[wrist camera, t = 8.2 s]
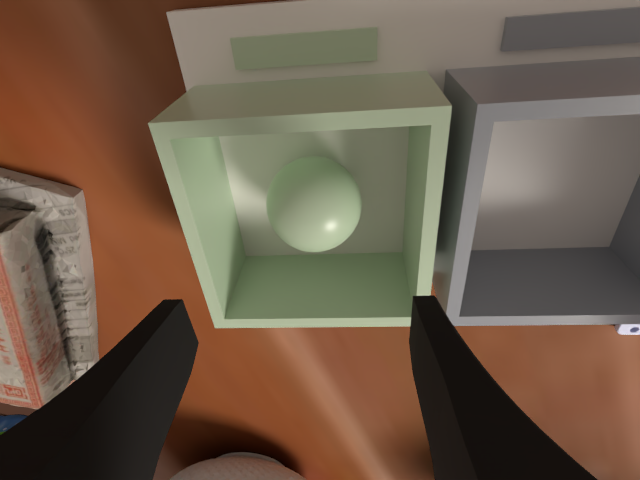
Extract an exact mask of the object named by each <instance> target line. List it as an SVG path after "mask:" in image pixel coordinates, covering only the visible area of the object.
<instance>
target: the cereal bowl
mask: <svg viewBox="0 0 640 480" xmlns="http://www.w3.org/2000/svg"><path fill="white" fill-rule="evenodd" d="M169 480H306V479H305V478H304V477H303V476H300V475H299V474H298V473H296V472H294V471H293V470H290V469H289V468H287V467H285V466H283V465H282V464H281V463H280V462H278V461H277V460H275V459H273V458H270V457H268V456H265V455H261V454H257V453H250V452H234V453H228V454H224V455H222V456H219V457H217V458H216V459H209V460H204V461H202V462H198V463H196V464H193V465H191V466H189V467H186V468H185V469H183V470H181V471H180V472H178V473H177V474H175V475H174V476H173V477H172V478H170V479H169Z"/></svg>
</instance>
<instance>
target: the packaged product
mask: <svg viewBox="0 0 640 480" xmlns="http://www.w3.org/2000/svg"><path fill="white" fill-rule="evenodd" d="M98 361H99V353H98V323H97V310H96V292H95V280H94V269H93V258H92V250H91V242H90V234H89V227H88V219H87V211H86V203H85V198H84V193H83V190H82V189H79V188H76V187H73V186H69V185H65V184H61V183H58V182H54V181H50V180H46V179H42V178H39V177H35V176H31V175H27V174H23V173H18V172H15V171H12V170H8V169H4V168H1V167H0V402H1V403H4V404H5V403H8V404H10V405H14V406H20V407H29V408H33V409H39V408H41V407H42V406H43V405H45V404H46V403H47V402H49V401H50V400H51V399H53V398H54V397H55V396H57V395H58V394H59V393H61V392H62V391H63V390H65V389H66V388H67V386H68V385H69V384H70V382H71V381H72V380H73V379H74V380H77V379H78V378H79V377H81V376H82V375H83V374H84V373H85V372H86V371H88V370H89V369H90V368H91V367H92V366H93V365H94V364H96V363H97V362H98Z"/></svg>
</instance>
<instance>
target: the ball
mask: <svg viewBox="0 0 640 480" xmlns="http://www.w3.org/2000/svg"><path fill="white" fill-rule="evenodd" d="M266 208H267V215H268V219H269V222H270V224H271V226H272V228H273V230H274V231H275V232H276V234H277V235H278V236H279V237H280V238H281V239H282V240H283V241H284V242H285V243H287V244H288V245H290V246H291V247H293V248H296V249H298V250H301V251H306V252H322V251H327V250H330V249H332V248H335V247H337V246H338V245H340V244H341V243H343V242H344V241H345V240H346V239H347V238H348V237H349V236H350V235H351V234H352V233H353V231H354V230H355V228H356V226H357V224H358V222H359V219H360V215H361V208H362V200H361V194H360V190H359V187H358V185H357V183H356V181H355V179H354V177H353V176H352V175H351V173H350V172H349V171H348V170H347V169H346V168H345V167H343V166H342V165H341V164H339V163H337V162H336V161H334V160H331V159H328V158H325V157H318V156H310V157H303V158H300V159H297V160H294V161H292V162H291V163H289V164H287V165H286V166H284V167H283V168H282V169H281V170H280V171H279V172H278V173H277V175H276V176H275V177H274V179H273V181H272V182H271V184H270V187H269V190H268V194H267V199H266Z"/></svg>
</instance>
